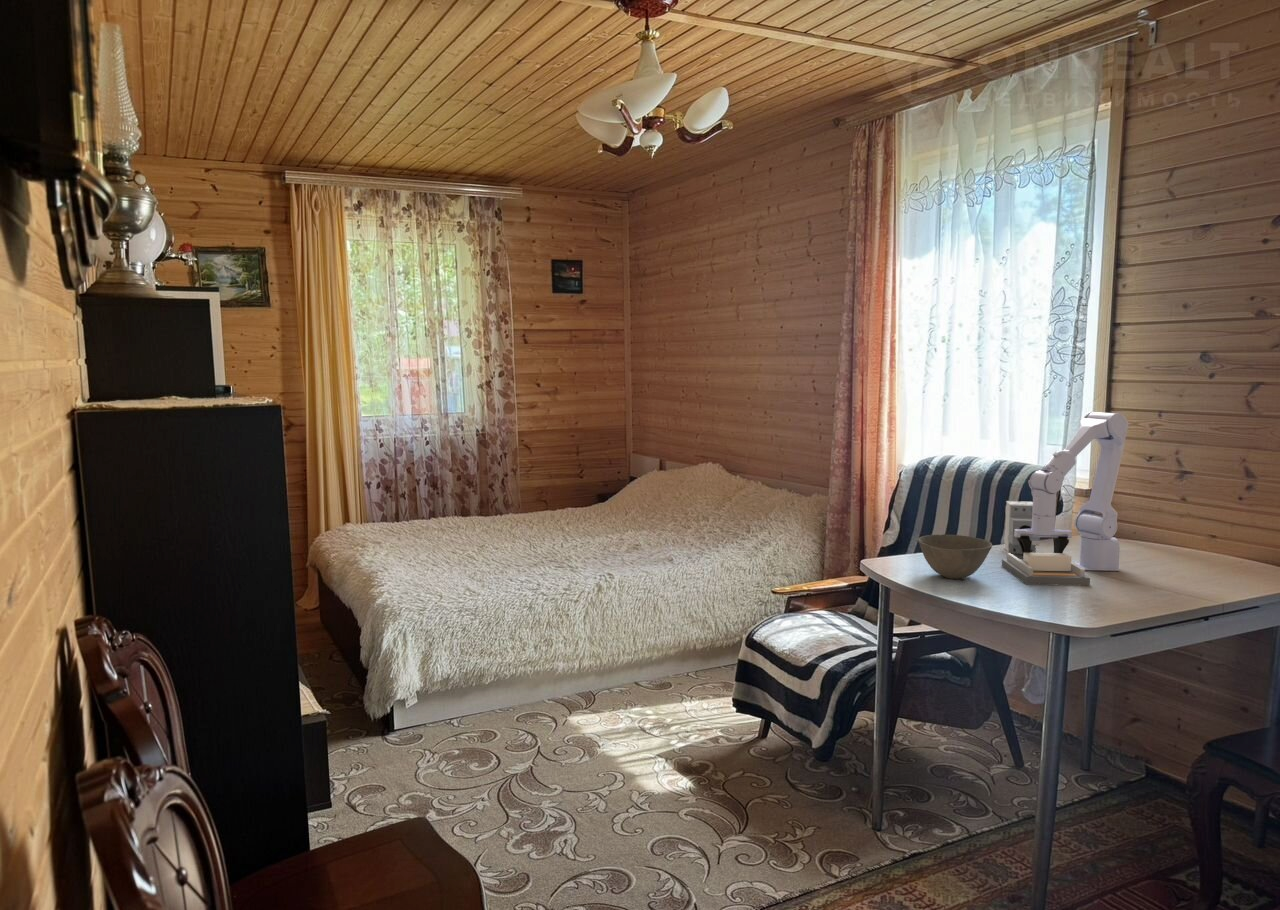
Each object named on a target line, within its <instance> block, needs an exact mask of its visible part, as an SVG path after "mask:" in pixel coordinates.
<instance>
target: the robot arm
mask: <svg viewBox="0 0 1280 910" xmlns="http://www.w3.org/2000/svg"><path fill="white" fill-rule="evenodd" d="M1079 423H1080V425H1079V427H1080V428H1079V429H1078V430H1077V431H1076V433H1075V434H1074V436H1073V437H1072V438H1071V440H1070V441H1069V442H1068V444H1067V445H1066V446H1065V448H1064V449H1063V450H1056V451H1054V453H1052V457H1051V458H1050V459H1049V460H1048V461H1047V462H1045V464H1044V466H1042V468H1041V469H1040V470H1036V471H1035V472H1033V473H1032V474H1031V475H1030V478H1029V480H1028V486H1029V488H1030V490H1031V496H1032V502H1033V510H1032V529H1014V536H1015V537H1017V539H1018V541H1019V544H1020V546H1021V548H1022V552H1023V554H1022V556H1023V555H1024V553H1030V549H1031V544H1032V541H1031V540H1030V538H1029V537H1040V538H1052V541H1053V553H1064V551H1065V550H1066V548H1067V546H1068V545H1069V543H1070V539H1072V538H1073V531H1072V530H1070V529H1059V528H1058V529H1057V528H1056V511H1057V510H1056V509H1057V508H1056V507H1057V493H1058V492H1059V491H1060V490H1061V489H1062V487H1063V482H1064V481H1065V477H1066V476H1067V475H1068V474H1069V472H1070V471H1071V469H1073V467H1074V466H1075V465H1076V463H1077V461H1076V458H1077V456H1078V455H1079V454H1080V453H1081V452H1082V451H1083V450H1084V449H1085V448H1086V447H1087V446H1088V445H1089V444H1090V443H1091V442H1092V441H1093V440H1095V441H1096V442H1098V444H1099V445H1100V447H1101V448H1100V452H1099V456H1098V462H1097V465H1096V470H1095V473H1094V478H1093V483H1092V487H1091V491H1090V496H1089V499H1088V501H1087V502H1085V503H1083V504H1082V505H1080V507H1079V510H1078V511H1079V512H1078V513H1077V514H1076V516H1075V518H1074V527H1075V529H1076V531H1078V535H1079V536H1080V541H1079V542H1080V543H1079V561H1074V562H1073V563H1075V564H1076V565H1078V566H1080V567H1082V568H1083V569H1085V571H1105V572H1106V571H1110V572H1111V571H1112V572H1114V571H1116V572H1117V571H1121V569H1120V567H1119V566H1120V552H1121V551H1120V549H1121V548H1120V542H1119V540H1118V539H1117V538H1116V537H1113V536H1114V535H1115V534H1116V533H1117V531H1118V515H1119V513H1118V512H1117V511H1116V510H1115V509H1114V507H1113V505H1112V500H1113V497H1114V492H1115V488H1116V485H1117V479H1118V475H1119V470H1120V467H1121V461H1122V458H1123V454H1124V450H1125V445H1126V444H1125V443H1126V437H1127V433H1128V430H1129V429H1128V428H1129V422H1128V420H1127V418H1126V417H1125V415H1124V414H1122V413H1121V412H1101V411H1092V410H1091V411H1088V412H1086V414H1085V415H1084V417H1083V418H1082V419H1080V422H1079ZM1055 528H1056V529H1055Z"/></svg>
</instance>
